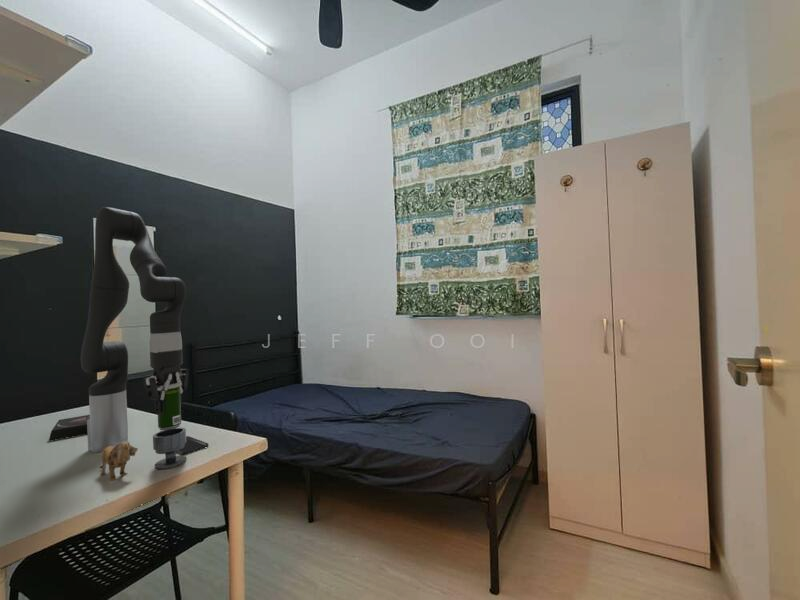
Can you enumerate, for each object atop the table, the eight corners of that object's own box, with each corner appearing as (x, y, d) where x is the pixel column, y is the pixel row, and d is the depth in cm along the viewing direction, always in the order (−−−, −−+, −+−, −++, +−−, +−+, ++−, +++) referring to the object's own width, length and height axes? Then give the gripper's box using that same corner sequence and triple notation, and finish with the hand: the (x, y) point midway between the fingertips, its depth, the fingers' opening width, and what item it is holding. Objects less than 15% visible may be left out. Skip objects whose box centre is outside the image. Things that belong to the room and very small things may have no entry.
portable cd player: (57, 430, 136) (56, 420, 136) (114, 420, 146) (114, 410, 146) (49, 442, 122) (49, 430, 123) (113, 430, 133) (112, 419, 133)
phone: (187, 435, 119) (209, 444, 110) (187, 439, 119) (210, 447, 110) (160, 443, 112) (182, 453, 104) (160, 447, 112) (182, 457, 103)
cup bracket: (147, 469, 95) (146, 437, 95) (168, 457, 103) (167, 427, 103) (173, 469, 94) (171, 437, 94) (192, 457, 102) (191, 427, 102)
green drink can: (185, 423, 101) (184, 381, 101) (171, 430, 96) (169, 385, 96) (168, 424, 102) (166, 381, 102) (153, 430, 96) (151, 386, 97)
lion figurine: (141, 474, 92) (140, 439, 93) (117, 484, 88) (116, 447, 88) (111, 465, 99) (110, 433, 99) (87, 474, 94) (86, 440, 94)
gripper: (173, 346, 107) (175, 403, 106) (131, 353, 92) (134, 419, 92) (196, 345, 106) (199, 403, 105) (158, 352, 91) (161, 418, 91)
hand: (168, 410), depth 99 cm, fingers closed on green drink can, 5 cm apart
